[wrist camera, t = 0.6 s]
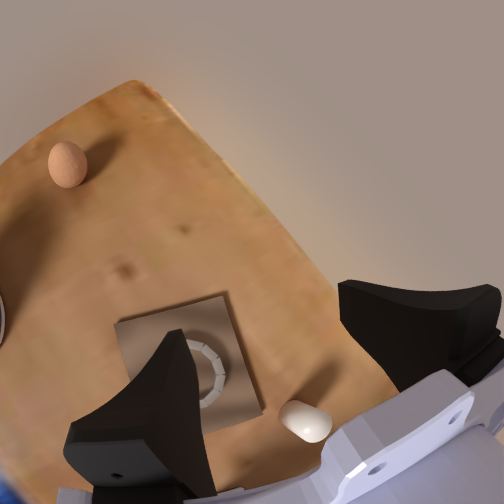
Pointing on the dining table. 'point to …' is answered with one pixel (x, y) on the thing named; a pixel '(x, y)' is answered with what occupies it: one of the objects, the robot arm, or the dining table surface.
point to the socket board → (198, 358)
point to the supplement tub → (2, 319)
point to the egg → (67, 164)
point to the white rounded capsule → (305, 421)
